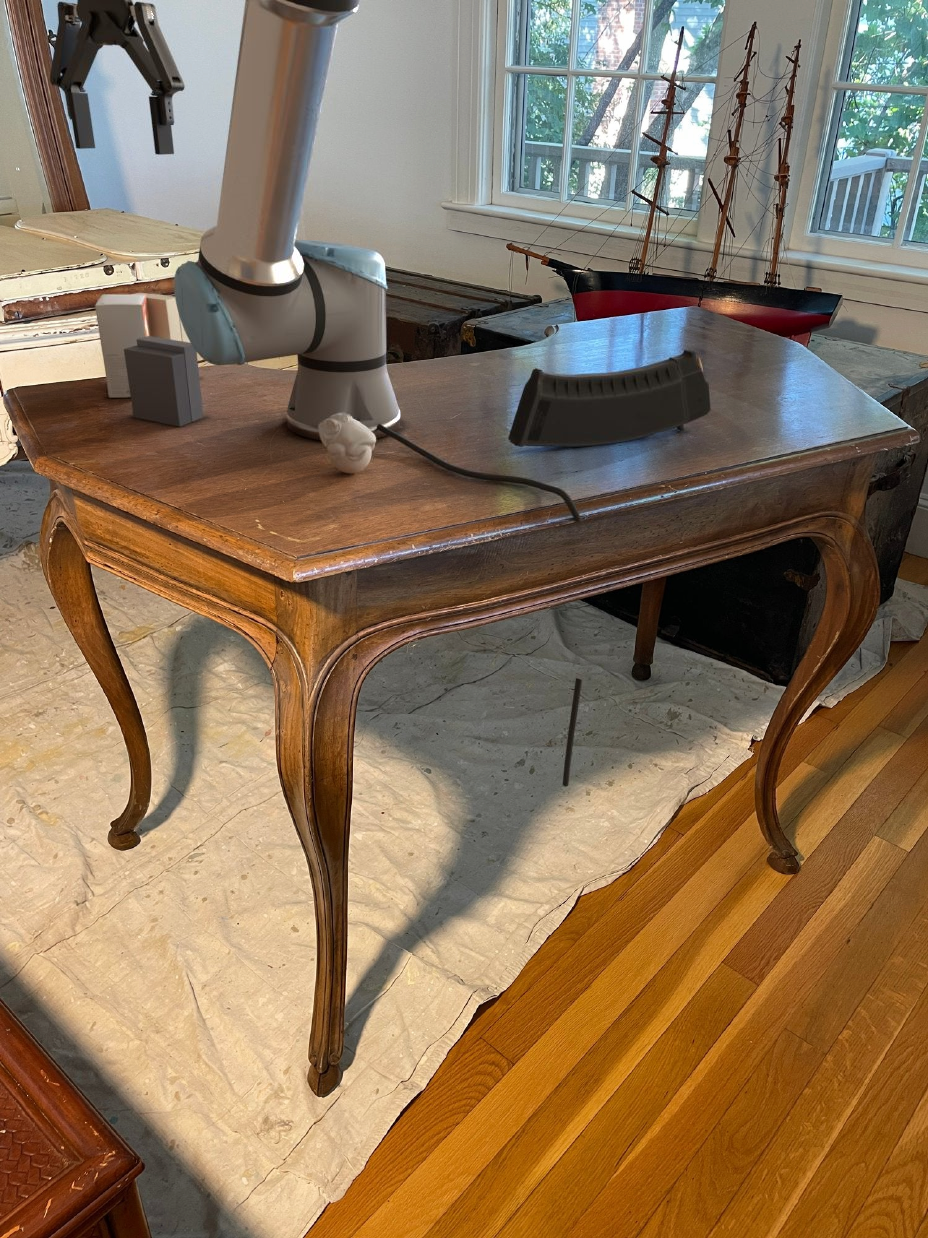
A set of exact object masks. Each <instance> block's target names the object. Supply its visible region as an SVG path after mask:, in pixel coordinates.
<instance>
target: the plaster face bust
mask: <svg viewBox="0 0 928 1238" xmlns="http://www.w3.org/2000/svg"><path fill="white" fill-rule="evenodd" d="M318 429H319V435H320V438H321V440H320V441H321V443H322V444H323V447H324V448H327V449H326V450H327V452H328V455H329V459H330V461H331V463H332V465H333V466H334V467H335V468H336V469H337V470H338V471H340V472H342V473H346V474H356V473H359V472H362V471H363V470H364V469H365V468H366V467H368V465H369V464H370V461H371V460H372V459H371V458H372V452H373V451H374V449H375V446H376V445H375V444H376V442H377V438H376V437H375V435H374V434H373V433H372V432H371V431H370V430H369V429H368V428H367V427H366V426H365V425H363V424H361V423H360V422H359V421H357V420H355V419H353V418H352V416H350V415H349V414H346V413H337V414H334V415H332V416H330V417H329V418H328V419H325V420H323V422H321V423H320V424H319V425H318Z"/></svg>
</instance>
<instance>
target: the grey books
mask: <svg viewBox="0 0 928 1238" xmlns="http://www.w3.org/2000/svg"><path fill="white" fill-rule="evenodd" d="M136 340H137V346H133V347H129V348H126V349H124V355H125V361H126V368H127V375H128V382H129V389H130V396H131V397H130V402H131V403H130V404H131V409H132V415H133V418H136V419H140V420H145V421H150V422H155V423H158V424H159V423H160V424H164V425H170V426H174V427H183V426H185V425H189V424H190V423H194V422H196V421H198V420H202V419H203V418H205V417H204V408H203V407H204V406H203V399H202V389H201V381H200V379H201V378H200V371H199V370H200V369H199V361H198V353H197V352H196V350H195V349H194V347H193V346H192V344H191V343H189V342H183V341H177V340H171V339H165V338H159V337H153V336H147V337H143V338H139V339H136Z"/></svg>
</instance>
